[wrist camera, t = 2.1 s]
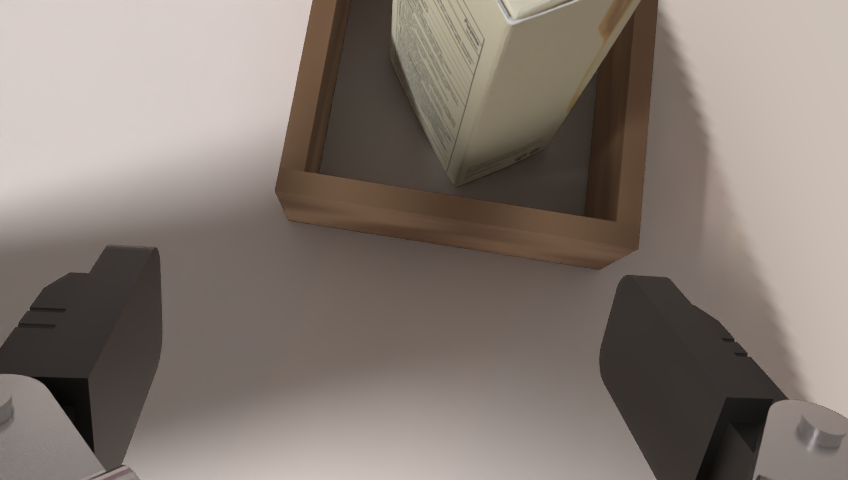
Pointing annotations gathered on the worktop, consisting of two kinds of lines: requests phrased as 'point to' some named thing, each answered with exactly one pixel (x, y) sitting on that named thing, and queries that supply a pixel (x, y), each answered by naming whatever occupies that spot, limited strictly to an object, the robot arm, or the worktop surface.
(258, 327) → the worktop surface
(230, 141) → the worktop surface
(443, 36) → the skincare box
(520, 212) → the walnut box
